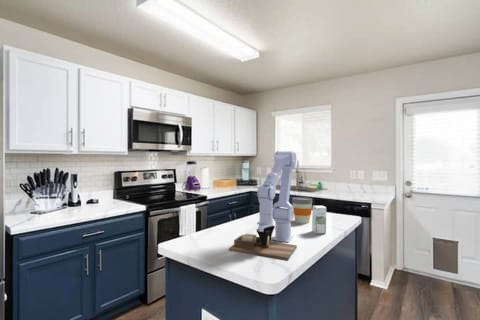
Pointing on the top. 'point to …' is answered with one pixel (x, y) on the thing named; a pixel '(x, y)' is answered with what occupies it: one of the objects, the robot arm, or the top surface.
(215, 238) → the top surface
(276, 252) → the walnut lane shelf
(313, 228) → the syrup box
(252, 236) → the cream block with stem
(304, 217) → the reusable coffee cup
